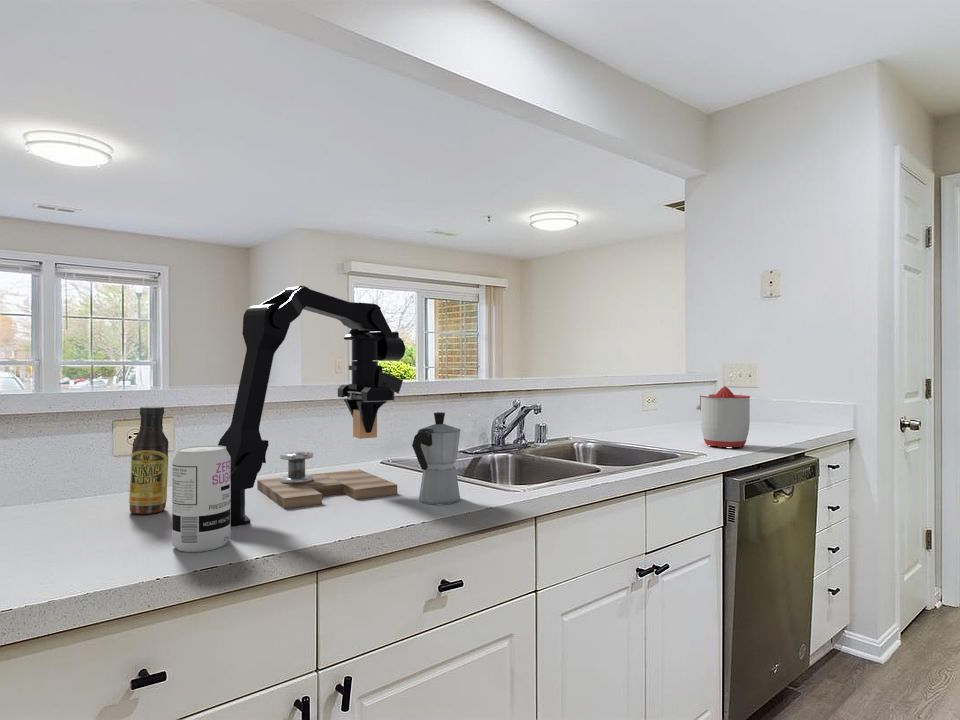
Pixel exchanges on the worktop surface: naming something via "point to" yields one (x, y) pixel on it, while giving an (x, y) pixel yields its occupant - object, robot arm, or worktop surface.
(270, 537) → the worktop surface
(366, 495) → the board
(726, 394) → the citrus juicer
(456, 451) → the coffee maker
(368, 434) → the block
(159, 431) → the sauce bottle
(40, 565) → the worktop surface
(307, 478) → the bobbin
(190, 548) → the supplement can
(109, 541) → the worktop surface
